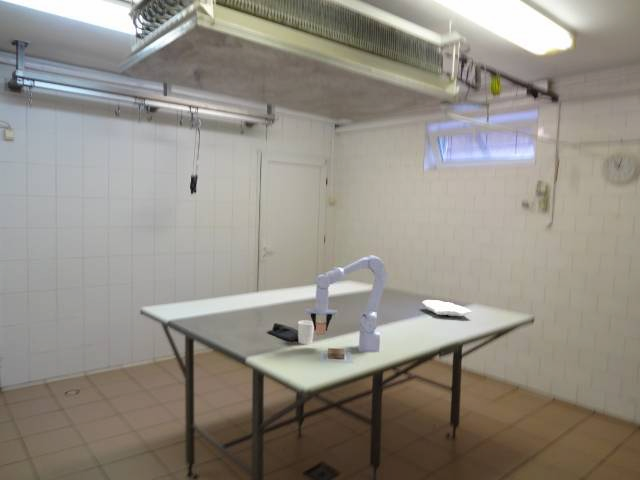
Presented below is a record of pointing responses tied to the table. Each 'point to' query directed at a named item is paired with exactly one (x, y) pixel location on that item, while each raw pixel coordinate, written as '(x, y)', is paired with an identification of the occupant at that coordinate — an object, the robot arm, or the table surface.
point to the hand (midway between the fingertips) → (320, 330)
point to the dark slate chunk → (284, 332)
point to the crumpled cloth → (445, 308)
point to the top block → (320, 328)
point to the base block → (336, 353)
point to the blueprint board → (325, 359)
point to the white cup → (305, 332)
